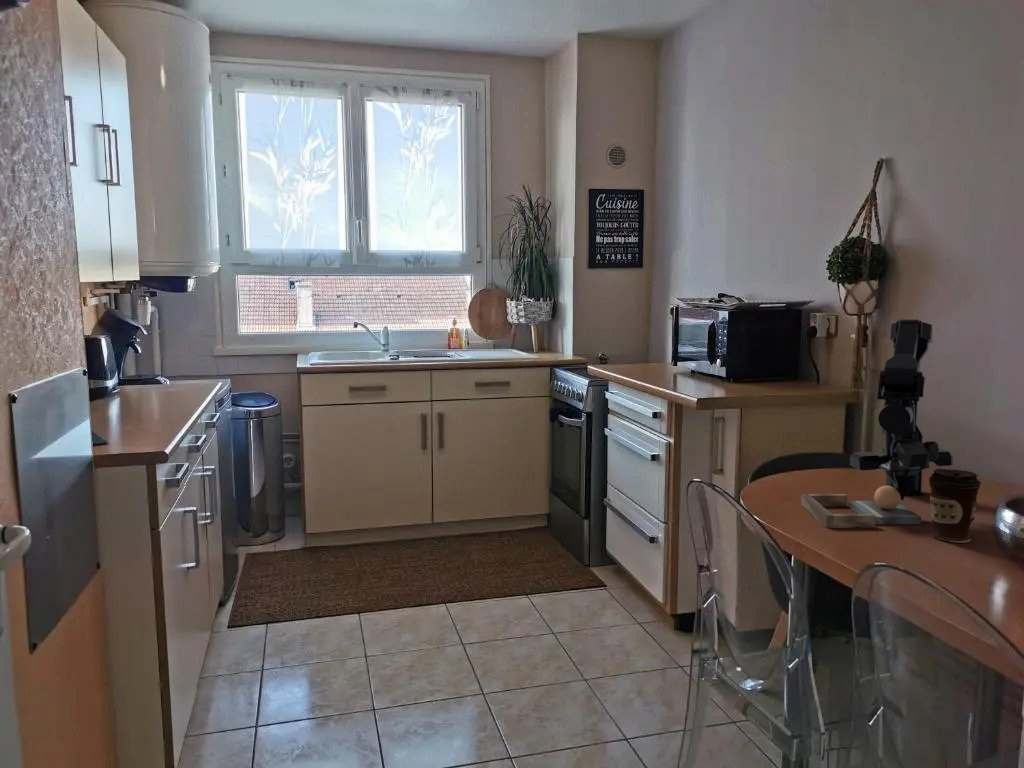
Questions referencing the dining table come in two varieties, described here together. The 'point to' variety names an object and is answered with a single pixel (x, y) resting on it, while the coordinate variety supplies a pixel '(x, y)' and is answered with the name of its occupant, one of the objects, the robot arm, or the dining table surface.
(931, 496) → the coffee cup
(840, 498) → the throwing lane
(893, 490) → the ball
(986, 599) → the dining table surface
